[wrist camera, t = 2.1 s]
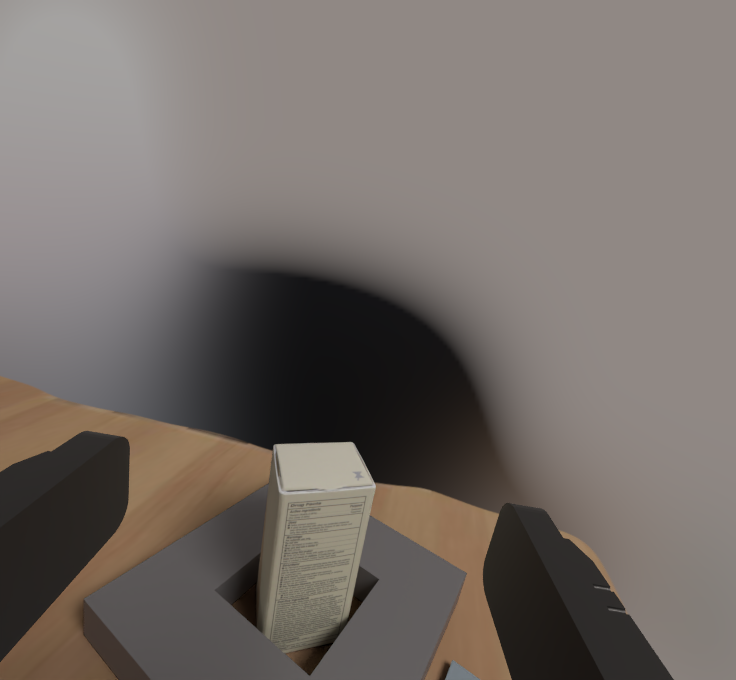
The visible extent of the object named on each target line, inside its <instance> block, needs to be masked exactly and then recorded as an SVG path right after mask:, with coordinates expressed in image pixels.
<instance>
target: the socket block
mask: <svg viewBox="0 0 736 680" xmlns="http://www.w3.org/2000/svg"><path fill="white" fill-rule="evenodd" d="M268 487H269V483H268V484H267V485H265V486H264V487H262V488H260V489H259V490H257V491H256V492H254V493H252V494H251V495H249V496H248V497H246V498H244V499H243V500H241V501H240V502H238V503H236V504H235V505H233V506H232V507H230V508H228V509H227V510H225V511H224V512H222V513H220V514H219V515H217V516H216V517H214V518H212V519H211V520H209V521H208V522H206V523H204V524H203V525H201V526H200V527H198V528H196V529H195V530H193V531H192V532H190V533H188V534H187V535H185V536H184V537H182V538H180V539H179V540H177V541H176V542H174V543H172V544H171V545H169V546H168V547H166V548H164V549H163V550H161V551H160V552H158V553H156V554H155V555H153V556H152V557H150V558H148V559H147V560H145V561H144V562H142V563H140V564H139V565H137V566H136V567H134V568H132V569H131V570H129V571H128V572H126V573H124V574H123V575H121V576H120V577H118V578H116V579H115V580H113V581H112V582H110V583H108V584H107V585H105V586H104V587H102V588H100V589H99V590H97V591H96V592H94V593H92V594H91V595H89V596H88V597H86V598H84V636H85V637H86V638H87V639H88V641H89V642H90V643H91V645H92V646H93V647H94V648H95V650H96V651H97V652H98V654H99V655H100V656H101V657H102V659H103V660H104V661H105V663H106V664H107V665H108V666H109V668H110V669H111V670H112V671H113V673H114V674H115V675H116V677H117V678H118V679H119V680H424V679H425V677H426V675H427V672H428V670H429V667H430V665H431V663H432V660H433V658H434V656H435V653H436V651H437V649H438V646H439V644H440V642H441V639H442V637H443V635H444V632H445V630H446V628H447V625H448V623H449V620H450V618H451V616H452V613H453V611H454V609H455V606H456V604H457V602H458V599H459V596H460V593H461V590H462V587H463V584H464V581H465V578H466V575H467V573H466V572H464V571H462V570H460V569H459V568H457V567H455V566H454V565H452V564H450V563H449V562H447V561H445V560H444V559H442V558H440V557H439V556H437V555H435V554H434V553H432V552H430V551H429V550H427V549H425V548H424V547H422V546H420V545H419V544H417V543H415V542H414V541H412V540H410V539H409V538H407V537H405V536H404V535H402V534H400V533H399V532H397V531H395V530H394V529H392V528H390V527H388V526H387V525H385V524H383V523H382V522H380V521H378V520H377V519H375V518H373V517H372V516H369V521H368V526H367V530H366V535H365V540H364V544H363V549H362V554H361V559H360V563H359V568H358V573H357V578H356V583H355V587H354V592H353V596H355V597H356V598H357V599H359V600H360V601H362V602H363V603H362V604H361V605H360V607H359V608H358V610H357V611H356V612H355V614H354V615H353V617H352V618H351V619H350V621H349V622H348V624H347V625H346V626H345V628H344V629H343V631H342V632H341V633H340V635H339V636H338V638H337V639H336V640H335V642H334V643H333V644H332V646H331V647H330V649H329V650H328V651H327V653H326V654H325V656H324V657H323V658H322V660H321V661H320V663H319V664H318V665H317V667H316V668H315V670H314V671H313V672H312V674H311V675H310V676H309V675H308V674H307V673H306V672H305V671H304V670H302V669H301V668H300V667H299V666H298V665H297V664H296V663H295V662H294V661H292V660H291V659H290V658H289V657H288V656H287V655H286V654H285V653H284V652H282V651H281V650H280V649H279V648H278V647H277V646H276V645H275V644H274V643H272V642H271V641H270V640H269V639H268V638H267V637H266V636H265V635H263V634H262V633H261V632H260V631H259V630H258V629H257V628H256V627H255V626H253V625H252V624H251V623H250V622H249V621H248V620H247V619H246V618H245V617H243V616H242V615H241V614H240V613H239V612H238V611H237V610H236V609H235V608H233V607H232V606H231V605H232V604H233V603H234V602H235V601H236V600H237V599H238V598H240V597H241V596H242V595H243V594H244V593H245V592H246V591H247V590H249V589H250V588H251V587H252V586H253V585H254V584H255V583H256V582H257V578H258V570H259V562H260V554H261V546H262V538H263V529H264V520H265V512H266V504H267V495H268Z"/></svg>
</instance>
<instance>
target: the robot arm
mask: <svg viewBox="0 0 736 680" xmlns="http://www.w3.org/2000/svg"><path fill="white" fill-rule="evenodd" d="M129 456H130V446H129V442H128V440H127V439H126V438H125V437H120V436H114V435H109V434H103V433H97V432H91V431H84V432H81V433H79V434H78V435H76V436H75V437H73V438H72V439H70V440H68V441H67V442H65V443H64V444H62V445H61V446H59V447H58V448H56V449H55V450H53V451H52V452H51V451H47V452H44V453H41V454H39V455H36V456H33V457H31V458H28V459H26V460H23V461H20V462H18V463H15V464H13V465H11V466H9V467H8V468H6V469H5V470H3V471H1V472H0V662H1V661H2V659H3V658H4V657H5V656H6V655H7V654H8V653H9V652H10V650H11V649H12V648H13V647H14V646H15V645H16V644H17V642H18V641H19V640H20V639H21V638H22V637H23V636H24V635H25V633H26V632H27V631H28V630H29V629H30V628H31V627H32V626H33V624H34V623H35V622H36V621H37V620H38V619H39V618H40V617H41V615H42V614H43V613H44V612H45V611H46V610H47V609H48V608H49V606H50V605H51V604H52V603H53V602H54V601H55V600H56V599H57V597H58V596H59V595H60V594H61V593H62V592H63V591H64V590H65V588H66V587H67V586H68V585H69V584H70V583H71V582H72V580H73V579H74V578H75V577H76V576H77V575H78V574H79V573H80V571H81V570H82V569H83V568H84V567H85V566H86V565H87V564H88V562H89V561H90V560H91V559H92V558H93V557H94V556H95V555H96V553H97V552H98V551H99V550H100V549H101V548H102V547H103V546H104V544H105V543H106V542H107V541H108V540H109V539H110V538H111V537H112V535H113V534H114V533H115V532H116V530H117V529H118V527H119V526H120V524H121V522H122V520H123V518H124V515H125V512H126V509H127V505H128V494H129ZM483 585H484V591H485V595H486V599H487V602H488V605H489V608H490V611H491V615H492V618H493V621H494V624H495V627H496V630H497V634H498V637H499V640H500V643H501V646H502V650H503V653H504V656H505V659H506V662H507V665H508V669H509V672H510V675H511V678H512V680H674V679H673V678H672V677H671V675H670V674H669V672H668V671H667V669H666V668H665V666H664V665H663V663H662V662H661V660H660V659H659V657H658V656H657V655H656V653H655V652H654V650H653V649H652V648H651V646H650V644H649V643H648V641H647V640H646V639H645V637H644V635H643V634H642V633H641V631H640V630H639V628H638V627H637V625H636V624H635V622H634V621H633V619H632V618H631V616H630V615H627V614H626V613H625V608H624V606H623V605H622V603H621V602H620V600H619V599H618V597H617V596H616V594H615V593H614V592H611V591H610V586H609V584H608V583H607V581H606V580H605V578H604V577H603V575H602V574H601V573H600V571H599V570H598V568H597V567H596V565H595V564H594V562H593V561H592V560H591V559H590V558H589V557H588V556H587V555H585V554H584V553H583V552H582V551H581V550H580V549H579V548H578V547H577V546H576V545H575V544H574V543H573V542H572V541H570V540H569V539H565V538H563V537H562V535H561V534H560V532H559V531H558V529H557V528H556V526H555V525H554V523H553V521H552V520H551V518H550V517H549V515H548V514H547V512H546V511H545V510H543V509H540V508H534V507H528V506H522V505H516V504H510V503H506V504H505V505H504V506H503V507H502V509H501V511H500V514H499V517H498V520H497V523H496V526H495V529H494V533H493V536H492V539H491V542H490V545H489V548H488V551H487V555H486V558H485V561H484V568H483Z"/></svg>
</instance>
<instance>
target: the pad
mask: <svg viewBox="0 0 736 680" xmlns="http://www.w3.org/2000/svg"><path fill="white" fill-rule="evenodd" d="M445 680H480V679H478V678H477V677H476V676H474V675H473V674H471V673H470V672H469V671H467V670H466V669H464V668H463V667H462V666H460V665H459V664H458V663H456V662H455V661H453V660H452V663H451V666H450V668H449V671H448V674H447V676H446V679H445Z"/></svg>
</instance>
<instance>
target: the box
mask: <svg viewBox="0 0 736 680" xmlns="http://www.w3.org/2000/svg"><path fill="white" fill-rule="evenodd" d="M375 488H376V486H375V483H374V482H373V479H372V478H371V475H370V473H369V471H368V469H367V468H366V465H365V463H364V461H363V460H362V458H361V456H360V454H359V453H358V451H357V449H356V447H355V445H354V444H353V443H352V442H347V443H346V442H345V443H305V444H276V445H274V447H273V454H272V461H271V470H270V478H269V487H268V495H267V504H266V512H265V520H264V529H263V538H262V546H261V554H260V562H259V570H258V578H257V586H256V620H257V629H258V630H259V631H260V632H261V633H262V634H263V635H265V636H266V637H267V638H268V639H269V640H270V641H271V642H272V643H274V644H275V645H276V646H277V647H278V648H279V649H280V650H281V651H282V652H284V653H289V652H294V651H298V650H302V649H307V648H312V647H316V646H321V645H325V644H328V643H332V642H335V640H336V639H337V638H338V636H339V635H340V633H341V632H342V631H343V629H344V628H345V626H346V625H347V622H348V617H349V612H350V607H351V602H352V597H353V592H354V587H355V583H356V578H357V573H358V568H359V563H360V559H361V554H362V549H363V544H364V540H365V535H366V530H367V526H368V521H369V516H370V511H371V506H372V502H373V497H374V493H375Z"/></svg>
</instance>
